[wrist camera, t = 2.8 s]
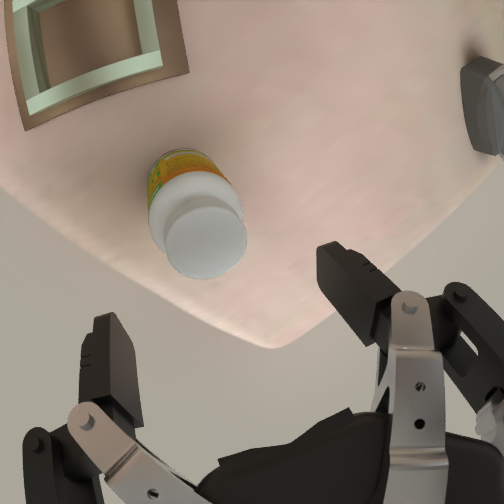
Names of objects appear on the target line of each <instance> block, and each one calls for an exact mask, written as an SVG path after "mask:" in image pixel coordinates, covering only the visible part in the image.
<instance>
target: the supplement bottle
mask: <svg viewBox="0 0 504 504" xmlns="http://www.w3.org/2000/svg"><path fill="white" fill-rule="evenodd" d="M148 221H149V228H150V232H151V235H152V238H153V240H154V242H155V243H156V245H157V246H158V247H159V249H160V250H161V251H162V252H164V253H165V254H166V255H167V258H168V260H169V262H170V264H171V265H172V266H173V268H174V269H175V270H176V271H178V272H179V273H181V274H182V275H184V276H186V277H190V278H193V279H211V278H215V277H218V276H220V275H222V274H224V273H226V272H228V271H229V270H231V269H232V268H233V267H234V266H235V265H236V264H237V263H238V262H239V261H240V259H241V258H242V256H243V254H244V252H245V249H246V244H247V233H246V229H245V227H244V224H243V206H242V203H241V200H240V197H239V196H238V194H237V192H236V191H235V189H234V188H233V186H232V185H231V183H230V182H229V181H228V180H227V179H226V178H225V177H224V175H223V174H222V173H221V172H220V171H219V169H218V168H217V167H216V166H215V164H214V163H213V162H212V161H211V160H210V159H209V158H208V157H207V156H206V155H204V154H203V153H201V152H198V151H196V150H191V149H179V150H174V151H172V152H169V153H167V154H165V155H164V156H163V157H161V158H160V159H159V160H158V161H157V162H156V163H155V165H154V166H153V168H152V170H151V172H150V174H149V178H148Z"/></svg>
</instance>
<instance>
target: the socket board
mask: <svg viewBox="0 0 504 504" xmlns="http://www.w3.org/2000/svg"><path fill="white" fill-rule="evenodd" d="M4 12H5V27H6V38H7V47H8V54H9V61H10V68H11V73H12V79H13V84H14V89H15V94H16V98H17V103H18V107H19V111H20V115H21V119H22V123H23V126H24V130H25V131H27V130H30V129H32V128H34V127H36V126H38V125H40V124H42V123H44V122H46V121H48V120H50V119H52V118H54V117H57V116H59V115H61V114H63V113H66V112H68V111H70V110H73V109H75V108H77V107H80V106H82V105H85V104H87V103H90V102H93V101H95V100H98V99H101V98H103V97H106V96H109V95H112V94H115V93H118V92H121V91H124V90H127V89H130V88H133V87H137V86H140V85H143V84H147V83H151V82H154V81H158V80H162V79H166V78H170V77H174V76H178V75H182V74H187V73H190V72H189V67H188V61H187V56H186V51H185V45H184V39H183V34H182V28H181V22H180V17H179V11H178V5H177V0H4Z"/></svg>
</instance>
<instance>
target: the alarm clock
mask: <svg viewBox="0 0 504 504" xmlns="http://www.w3.org/2000/svg"><path fill="white" fill-rule="evenodd" d="M460 76H461V93H462V103H463V110H464V117H465V122H466V126H467V131H468V134H469V138H470V141H471V144H472V146H473V148H474V150H476V151H480V152H483V153H487V154H490V155H494V156H496V155H498V154H499V155H500V156H501V157H502V159H503V160H504V64H501V63H498V62H496V61H493V60H490V59H488V58H485V57H482V56H481V57H479V58H477V59H476V60H474V61H472V62H471V63H469V64H468V65H466V66H464V67H463V68H461V71H460Z"/></svg>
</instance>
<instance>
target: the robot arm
mask: <svg viewBox="0 0 504 504" xmlns="http://www.w3.org/2000/svg"><path fill="white" fill-rule="evenodd" d="M316 256H317V282H318V285H319V288H320V289H321V291H322V292H323V294H324V295H325V296H326V297H327V299H328V300H329V301H330V302H331V304H332V305H333V306H334V307H335V309H336V310H337V311H338V312H339V314H340V315H341V316H342V317H343V319H344V320H345V321H346V322H347V324H349V326H350V327H351V329H352V330H353V331H354V332H355V333H356V335H357V336H358V337H359V339H360V340H361V341H362V342H363V344H364V345H365V346H366V347H367V346H369V345H371V344H373V343H375V342H376V343H377V345H378V346H379V348H378V358H377V359H378V360H377V373H376V385H375V393H374V398H373V402H372V406H371V411H370V412H361V413H355V414H353V413H352V412H351V410H350V409H349V407H348V408H347V409H344V410H343V411H340V412H339V413H336V414H335V415H332V416H330V417H328V418H326V419H324V420H322V421H320V422H318V423H317V424H316V425H314V426H313V427H312V428H310V429H309V430H308V431H306V432H305V433H304V434H302V435H301V436H299V437H298V438H297V439H295V440H294V441H293V442H291V443H289V444H285V445H278V446H271V447H262V448H254V449H249V450H246V451H242V452H239V453H236V454H233V455H230V456H226V457H223V458H219V459H218V462H219V465H220V466H219V467H217V468H216V469H215V470H213V471H212V472H210V473H209V474H208V475H207V476H205V477H204V478H203V479H202V481H201V482H200V483H199V484H198V486H197V485H195V484H194V483H193V482H191V481H190V480H189V479H187V478H185V477H184V476H183V475H181V474H180V473H178V472H177V471H175V470H174V469H172V468H171V467H170V466H169V465H167V464H166V463H165V462H164V461H163V460H161V459H160V458H159V457H158V456H156V455H155V454H154V453H153V452H152V451H150V450H149V449H148V448H147V447H146V446H145V445H143V444H142V443H141V442H140V441H139V440H138V439H137V438H136V435H135V428H139V427H144V423H143V417H142V410H141V403H140V395H139V387H138V378H137V368H136V357H135V350H134V346H133V343H132V341H131V339H130V337H129V336H128V334H127V332H126V331H125V329H124V328H123V326H122V324H121V323H120V321H119V319H118V318H117V316H116V314H115V313H114V312H110V313H107V314H104V315H101V316H97V317H95V318H94V324H93V332H92V333H89V334H87V335H86V337H85V339H84V342H83V344H82V347H81V360H80V367H81V369H80V375H79V402H78V405H76V406H75V407H74V408H73V409H72V411H71V412H70V414H69V416H68V421H67V424H65V425H63V426H62V427H60V428H58V429H56V430H54V431H52V432H50V433H49V432H48V431H46V430H45V429H43V428H41V427H35V428H32V429H31V430H29V431H28V433H27V434H26V435H25V438H24V440H23V474H24V488H25V497H26V504H104V500H103V495H102V490H101V486H100V481H99V474H101V473H104V475H105V478H104V480H105V482H106V484H107V485H108V486H109V487H110V488H111V489H112V490H113V491H114V492H115V493H116V494H117V495H118V496H119V497H120V498H121V499H122V500H123V501H124V502H125V503H126V504H504V321H503V320H502V319H501V317H500V316H499V315H498V314H497V313H496V312H495V311H494V310H493V309H492V308H491V307H490V306H489V305H488V304H487V303H486V302H485V301H484V300H483V299H482V298H481V297H480V296H478V294H477V293H475V292H474V291H473V290H472V289H471V288H470V287H469V286H467V285H466V284H463V283H460V282H452V283H449V284H447V286H446V287H445V289H444V291H443V294H442V295H439V296H434V297H429V298H424V297H423V296H422V295H420V294H419V293H416V292H413V291H401V290H400V289H399V288H398V287H397V286H396V285H395V284H394V283H393V282H392V281H391V280H390V279H389V278H388V277H387V276H385V275H384V274H383V273H382V272H381V271H380V270H379V269H377V267H376V266H375V265H373V264H372V263H370V261H369V260H368V259H367V258H366V257H365V256H364V255H362V254H361V253H358V252H356V251H354V250H351V249H349V250H346V249H345V248H344V247H343V246H342V245H340V244H339V243H338V242H337V241H333V242H330V243H327V244H324V245H321V246H318V247H317V251H316ZM462 331H463V332H464V334H465V335H466V336H467V337H468V338H469V339H470V340H471V342H472V343H473V344H474V345H475V346H476V348H477V350H478V356H477V354H476V353H475V352H474V351H473V350H472V349H471V347H470V346H469V345H468V344H467V343H466V342H465V340H464V339H463V338H462V337H461V336H460V334H461V332H462ZM443 369H444V370H445V372H446V373H447V374H448V375H449V377H450V378H451V380H452V381H453V382H454V384H455V385H456V386H457V388H458V389H459V390H460V392H461V393H462V394H463V396H464V397H465V398H466V400H467V401H468V403H469V404H470V406H471V407H472V408H473V410H474V411H475V413H476V414H477V418H476V423H477V425H476V427H475V431H476V433H477V434H478V435H481V440H478V439H474V438H470V437H465V436H461V435H457V434H453V433H449V432H446V431H445V386H444V370H443Z"/></svg>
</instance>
